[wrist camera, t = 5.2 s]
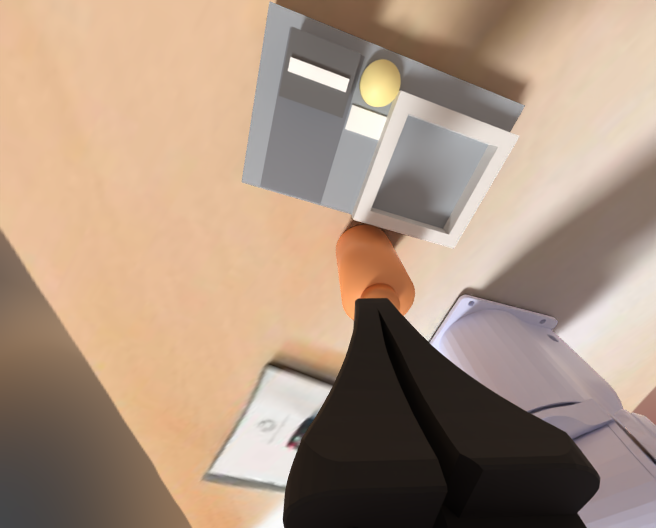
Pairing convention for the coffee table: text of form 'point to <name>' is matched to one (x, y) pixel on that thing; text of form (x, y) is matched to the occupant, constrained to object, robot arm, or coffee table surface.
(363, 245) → the orange bottle
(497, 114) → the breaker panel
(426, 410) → the robot arm
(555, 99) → the coffee table surface
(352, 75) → the block
